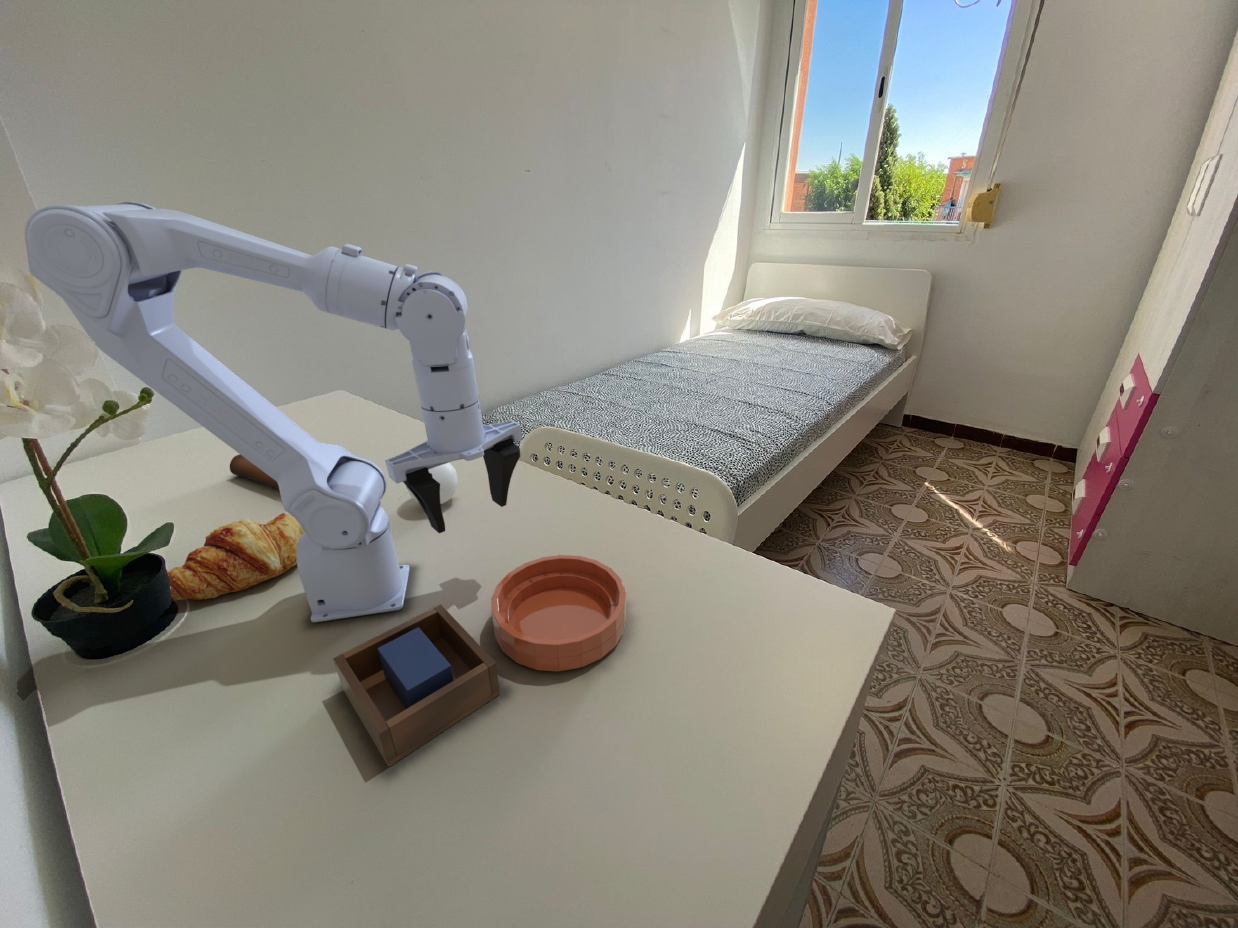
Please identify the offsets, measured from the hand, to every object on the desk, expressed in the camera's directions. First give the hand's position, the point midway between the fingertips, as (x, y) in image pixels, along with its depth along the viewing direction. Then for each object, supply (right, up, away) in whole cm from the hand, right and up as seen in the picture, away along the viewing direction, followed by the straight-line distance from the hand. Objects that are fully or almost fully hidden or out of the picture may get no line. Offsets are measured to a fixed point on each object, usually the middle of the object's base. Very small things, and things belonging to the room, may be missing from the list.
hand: (470, 515), depth 61 cm
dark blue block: (-2, -15, -10) cm, 18 cm away
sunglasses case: (-37, +3, +27) cm, 46 cm away
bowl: (+10, -12, -2) cm, 16 cm away
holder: (-2, -16, -10) cm, 19 cm away
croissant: (-28, -7, +7) cm, 30 cm away
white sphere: (-12, -1, +20) cm, 23 cm away
